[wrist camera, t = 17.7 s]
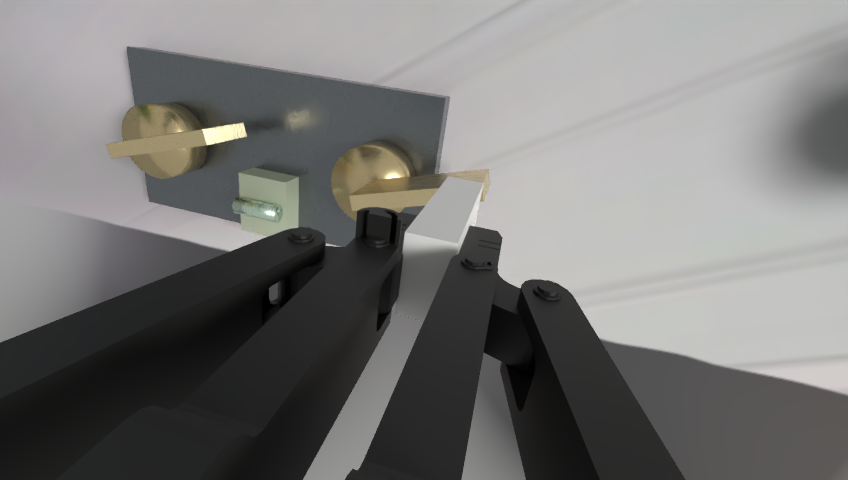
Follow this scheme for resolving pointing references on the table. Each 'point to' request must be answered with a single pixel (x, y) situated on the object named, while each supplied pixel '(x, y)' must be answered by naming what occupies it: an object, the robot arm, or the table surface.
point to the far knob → (168, 139)
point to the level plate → (281, 138)
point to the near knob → (387, 180)
